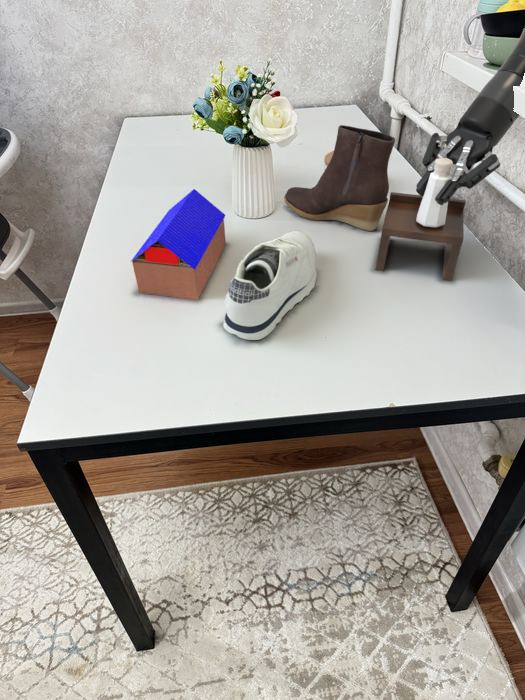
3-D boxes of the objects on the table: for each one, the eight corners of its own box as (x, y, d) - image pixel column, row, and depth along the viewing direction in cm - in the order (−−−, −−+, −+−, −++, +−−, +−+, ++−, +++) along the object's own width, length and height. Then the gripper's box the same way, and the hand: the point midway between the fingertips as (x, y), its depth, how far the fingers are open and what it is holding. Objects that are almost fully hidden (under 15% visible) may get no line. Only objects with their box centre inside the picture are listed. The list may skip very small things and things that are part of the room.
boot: (295, 197, 118) (298, 108, 104) (390, 222, 108) (407, 127, 95) (276, 212, 113) (277, 120, 99) (375, 239, 103) (390, 142, 89)
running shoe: (329, 260, 97) (334, 206, 89) (277, 353, 78) (277, 293, 70) (277, 250, 100) (277, 196, 92) (214, 336, 81) (208, 277, 73)
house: (227, 244, 102) (223, 191, 95) (199, 300, 88) (191, 243, 80) (173, 239, 104) (165, 186, 96) (136, 293, 90) (123, 237, 82)
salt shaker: (438, 231, 86) (453, 169, 79) (410, 222, 89) (422, 161, 81) (450, 219, 89) (466, 158, 82) (423, 210, 92) (436, 151, 84)
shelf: (452, 248, 100) (465, 200, 93) (451, 281, 91) (465, 230, 84) (382, 239, 103) (390, 191, 96) (375, 270, 94) (383, 220, 87)
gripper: (454, 85, 83) (390, 173, 87) (528, 106, 74) (453, 202, 78) (467, 112, 89) (406, 193, 92) (537, 135, 80) (467, 223, 83)
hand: (428, 197), depth 85 cm, fingers closed on salt shaker, 3 cm apart
